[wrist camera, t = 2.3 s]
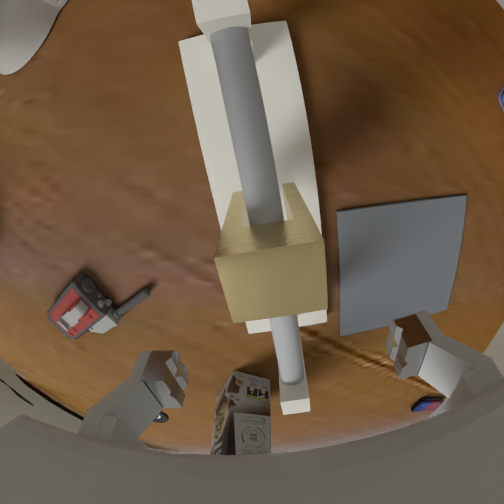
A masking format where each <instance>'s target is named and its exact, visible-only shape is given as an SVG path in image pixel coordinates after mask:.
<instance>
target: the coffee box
mask: <svg viewBox="0 0 504 504" xmlns="http://www.w3.org/2000/svg"><path fill="white" fill-rule="evenodd" d="M270 453H271V418H270V380H269V379H266V378H262V377H258V376H254V375H250V374H246V373H243V372H239V371H233V373H232V374H231V376H230V377H229V379H228V380H227V382H226V383H225V385H224V387H223V388H222V390H221V391H220V393H219V394H218V396H217V400H216V408H215V416H214V426H213V435H212V444H211V453H210V455H253V454H270Z"/></svg>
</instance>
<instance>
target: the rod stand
mask: <svg viewBox="0 0 504 504" xmlns="http://www.w3.org/2000/svg"><path fill="white" fill-rule="evenodd" d="M192 4H193V9H194V14H195V19H196V24H197V25H198V27H199V28H200V30H201V31H202V32H203V34H204V35H200V36H196V37H192V38H189V39H185V40H182V41H179V47H180V52H181V57H182V62H183V67H184V71H185V76H186V81H187V86H188V90H189V95H190V100H191V104H192V109H193V113H194V118H195V122H196V127H197V131H198V136H199V140H200V144H201V149H202V153H203V157H204V162H205V166H206V170H207V174H208V178H209V183H210V187H211V191H212V195H213V199H214V203H215V207H216V211H217V215H218V219H219V223H220V227H221V231H222V227H223V224H224V221H225V217H226V214H227V210H228V207H229V204H230V200H231V197H232V194H233V192H238V191H243V195H244V200H245V205H246V210H247V214H248V219H249V224H250V226H255V225H261V224H267V223H273V222H279V221H285V220H287V215H286V208H285V202H284V195H283V189H282V184H285V183H291V182H294V183H295V185H296V187H297V189H298V191H299V192H300V194H301V196H302V198H303V200H304V202H305V204H306V206H307V207H308V209H309V211H310V213H311V215H312V217H313V219H314V221H315V223H316V225H317V227H318V229H319V231H320V233H321V235H322V231H321V220H320V210H319V201H318V192H317V184H316V175H315V168H314V160H313V153H312V147H311V140H310V133H309V127H308V121H307V115H306V110H305V104H304V99H303V93H302V88H301V83H300V78H299V73H298V68H297V64H296V59H295V55H294V50H293V46H292V42H291V38H290V34H289V30H288V26H287V22H286V21H278V22H269V23H261V24H254V25H251V17H250V10H249V6H248V2H247V0H192ZM324 322H327V311H326V310H320V311H314V312H308V313H302V314H296V315H289V316H283V317H276V318H269V319H262V320H254V321H247V322H246V325H247V329H248V333H249V334H250V333H259V332H266V331H272V336H273V340H274V345H275V350H276V355H277V360H278V371H279V387H280V402H281V407H282V411H283V415H286V414H294V413H301V412H308V411H310V400H309V392H308V385H307V378H306V371H305V365H304V358H303V352H302V346H301V339H300V333H299V327H300V326H306V325H312V324H318V323H324Z"/></svg>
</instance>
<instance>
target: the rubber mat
mask: <svg viewBox="0 0 504 504" xmlns="http://www.w3.org/2000/svg"><path fill="white" fill-rule="evenodd" d="M466 197H467V196H466V195H458V196H449V197H440V198H431V199H423V200H414V201H406V202H398V203H391V204H383V205H376V206H368V207H361V208H354V209H347V210H340V211H336V215H337V230H338V248H339V275H340V336H344V335H349V334H354V333H359V332H363V331H368V330H372V329H377V328H381V327H385V326H389V322H390V320H391V319H395V318H399V317H402V316H406V315H410V314H414V313H417V312H420V311H424V310H425V311H427V313H428V314H429V315H430V314H433V313H436V312H440V311H443V310H446V309H447V307H448V303H449V299H450V295H451V291H452V287H453V283H454V279H455V274H456V269H457V264H458V259H459V254H460V248H461V242H462V235H463V227H464V219H465V209H466Z"/></svg>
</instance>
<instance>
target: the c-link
mask: <svg viewBox="0 0 504 504" xmlns="http://www.w3.org/2000/svg"><path fill="white" fill-rule="evenodd" d="M282 189H283V195H284V202H285V208H286V215H287V220H285V221H279V222H273V223H267V224H261V225H255V226H250V224H249V219H248V214H247V210H246V205H245V200H244V195H243V191H238V192H233V194H232V197H231V200H230V204H229V207H228V210H227V214H226V217H225V221H224V224H223V227H222V231H221V234H220V238H219V241H218V245H217V248H216V252H215V255H214V260H215V263H216V267H217V270H218V274H219V277H220V281H221V284H222V287H223V291H224V294H225V297H226V301H227V304H228V307H229V310H230V314H231V317H232V320H233V323H238V322H247V321H254V320H262V319H269V318H276V317H283V316H289V315H296V314H302V313H308V312H314V311H320V310H326V309H328V297H327V276H326V259H325V245H324V239H323V237H322V235H321V233H320V231H319V229H318V227H317V225H316V223H315V221H314V219H313V217H312V215H311V213H310V211H309V209H308V207H307V206H306V204H305V202H304V200H303V198H302V196H301V194H300V192H299V191H298V189H297V187H296V185H295V183H294V182H291V183H285V184H282Z"/></svg>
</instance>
